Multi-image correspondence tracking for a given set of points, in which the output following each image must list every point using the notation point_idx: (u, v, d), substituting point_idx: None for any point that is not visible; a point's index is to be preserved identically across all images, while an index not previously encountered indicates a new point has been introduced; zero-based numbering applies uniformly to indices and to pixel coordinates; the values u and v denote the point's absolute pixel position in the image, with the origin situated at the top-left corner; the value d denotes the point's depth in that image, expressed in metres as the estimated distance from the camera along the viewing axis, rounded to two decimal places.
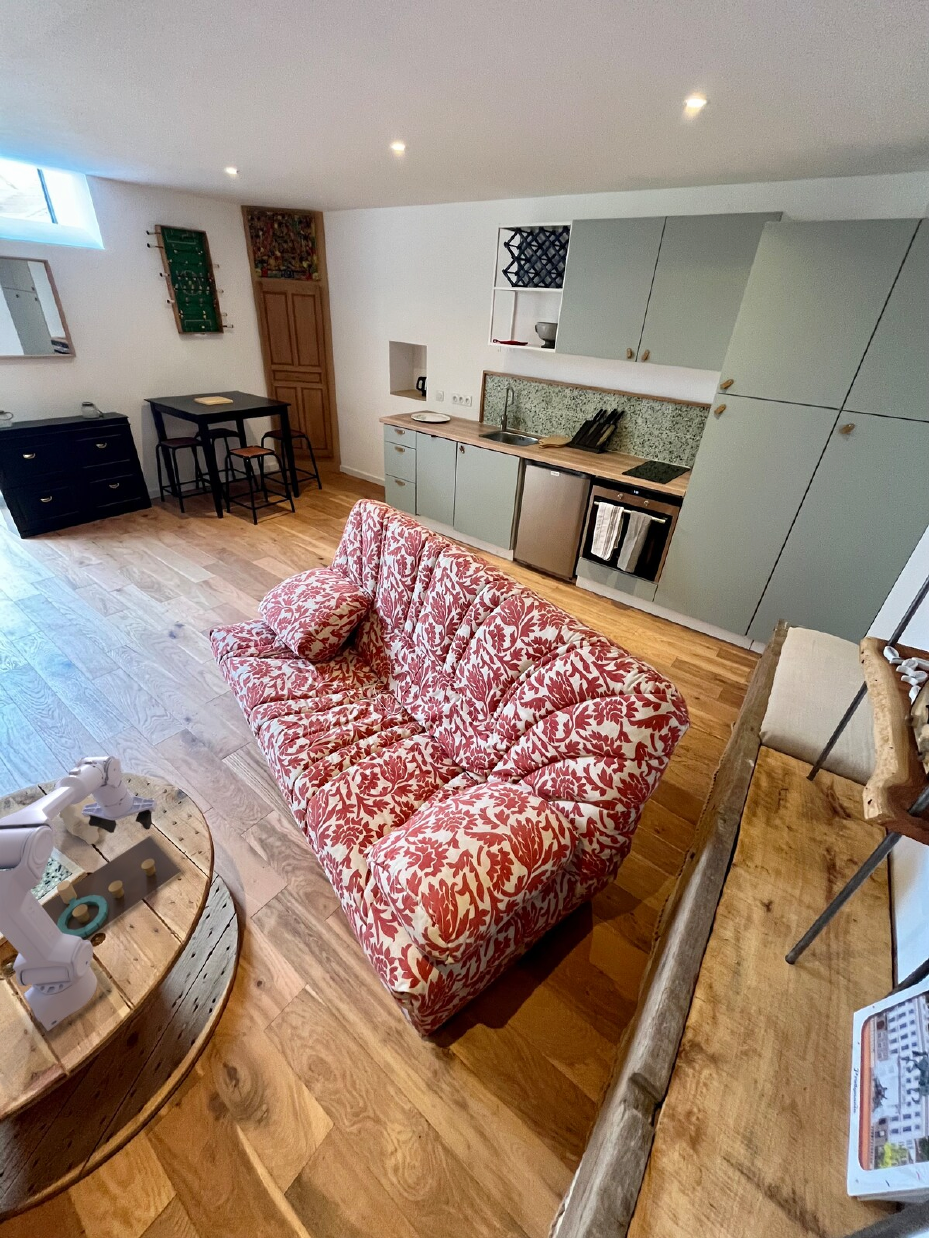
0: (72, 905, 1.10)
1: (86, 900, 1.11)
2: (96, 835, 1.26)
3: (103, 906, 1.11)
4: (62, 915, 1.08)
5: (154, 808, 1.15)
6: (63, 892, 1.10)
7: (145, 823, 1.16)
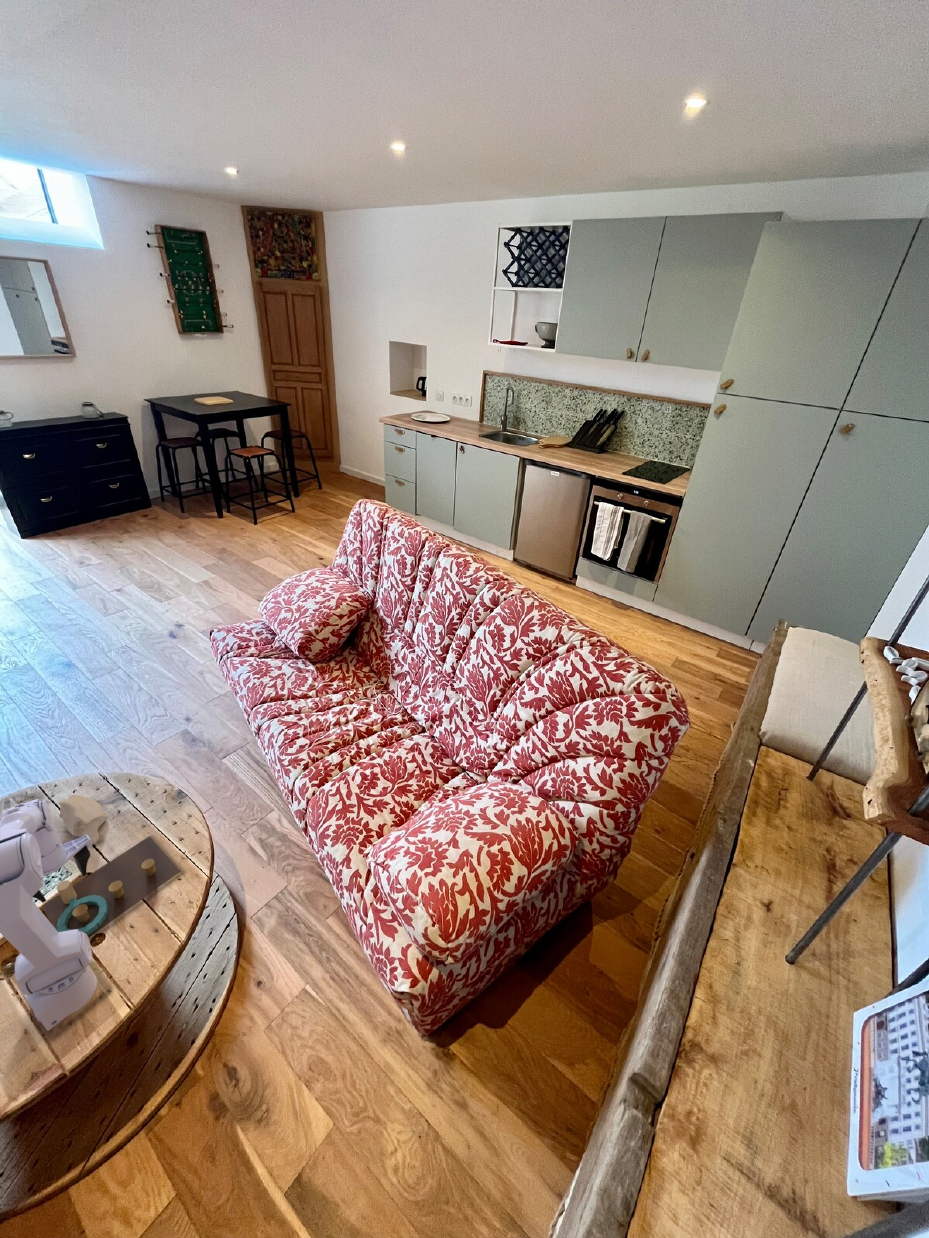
0: (72, 905, 1.10)
1: (86, 900, 1.11)
2: (96, 835, 1.26)
3: (103, 906, 1.11)
4: (62, 915, 1.08)
5: None
6: (63, 892, 1.10)
7: (85, 864, 1.11)
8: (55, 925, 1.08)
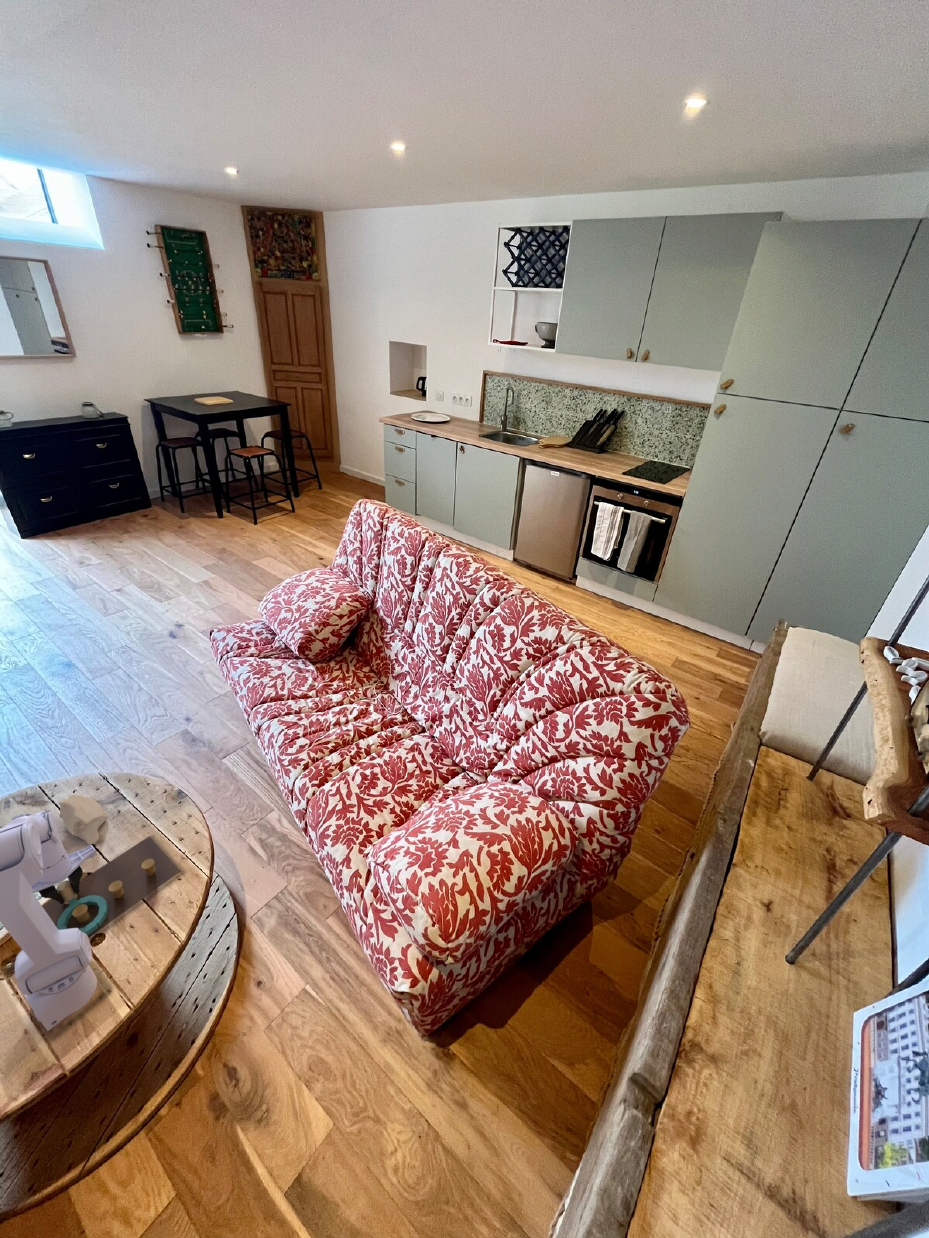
0: (72, 905, 1.10)
1: (86, 900, 1.11)
2: (96, 835, 1.26)
3: (103, 906, 1.11)
4: (62, 915, 1.08)
5: (96, 852, 1.13)
6: (62, 892, 1.10)
7: (78, 882, 1.11)
8: (55, 925, 1.08)
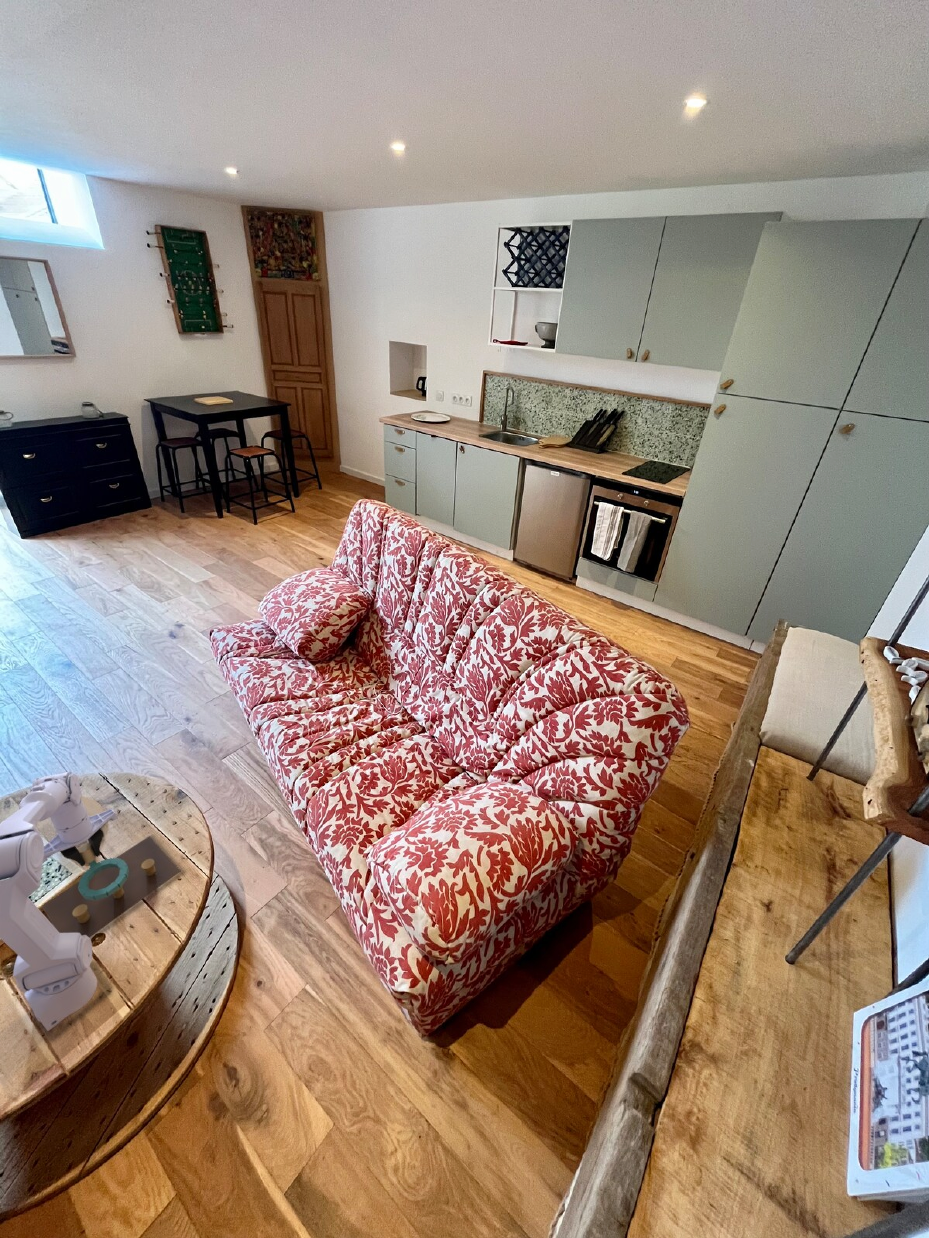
0: (93, 867, 1.11)
1: (106, 863, 1.12)
2: None
3: (123, 868, 1.11)
4: (83, 876, 1.09)
5: (116, 815, 1.14)
6: (83, 854, 1.11)
7: (99, 844, 1.12)
8: (55, 925, 1.08)
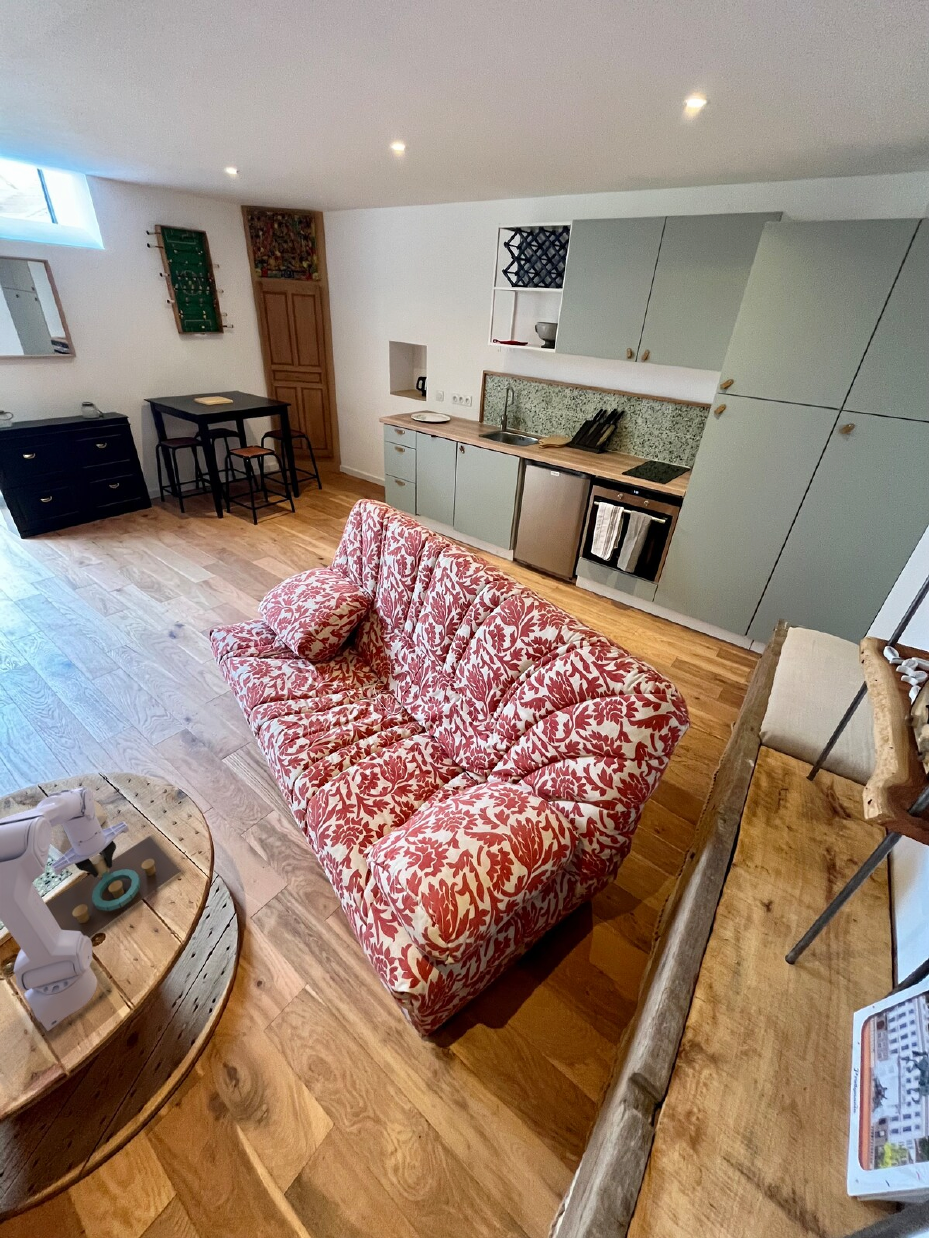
0: (105, 878, 1.15)
1: (119, 874, 1.16)
2: None
3: (135, 879, 1.15)
4: (96, 887, 1.13)
5: (127, 828, 1.18)
6: (96, 866, 1.14)
7: (111, 856, 1.15)
8: None
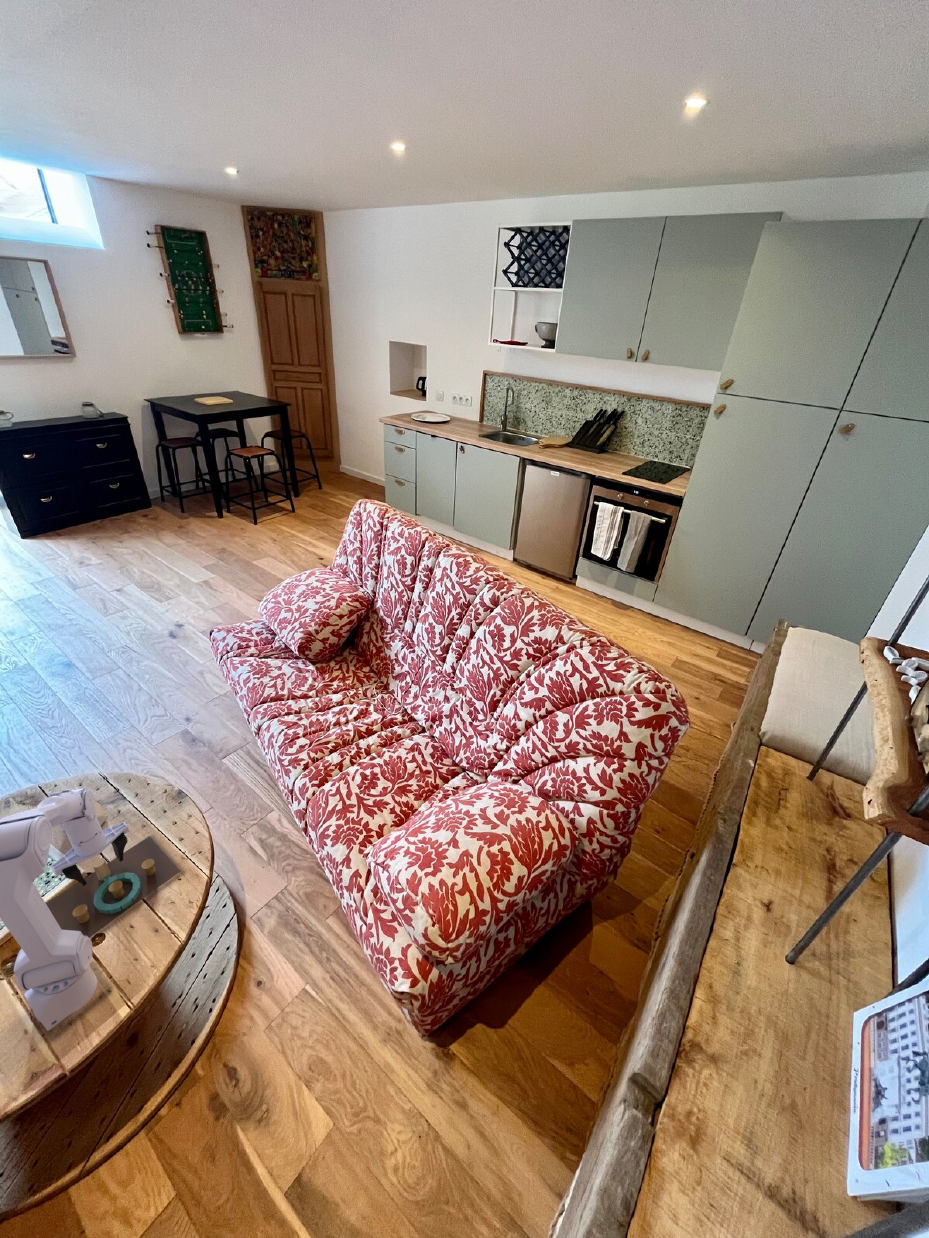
0: (107, 881, 1.15)
1: (120, 877, 1.16)
2: None
3: (136, 882, 1.16)
4: (98, 891, 1.13)
5: None
6: (98, 869, 1.15)
7: (122, 850, 1.17)
8: None
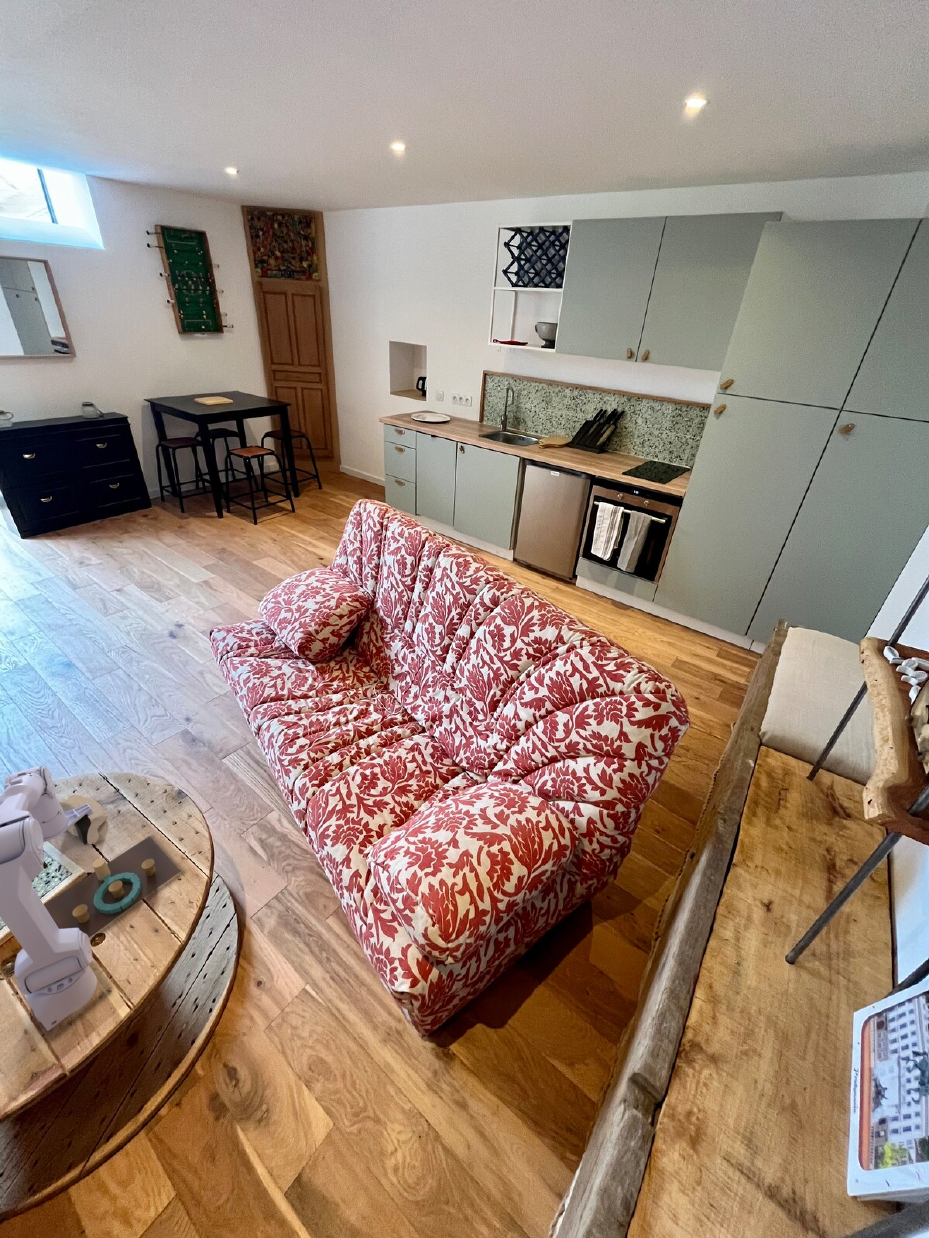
0: (107, 881, 1.15)
1: (120, 877, 1.16)
2: (96, 835, 1.26)
3: (136, 882, 1.16)
4: (98, 891, 1.13)
5: None
6: (98, 869, 1.15)
7: (86, 832, 1.14)
8: None
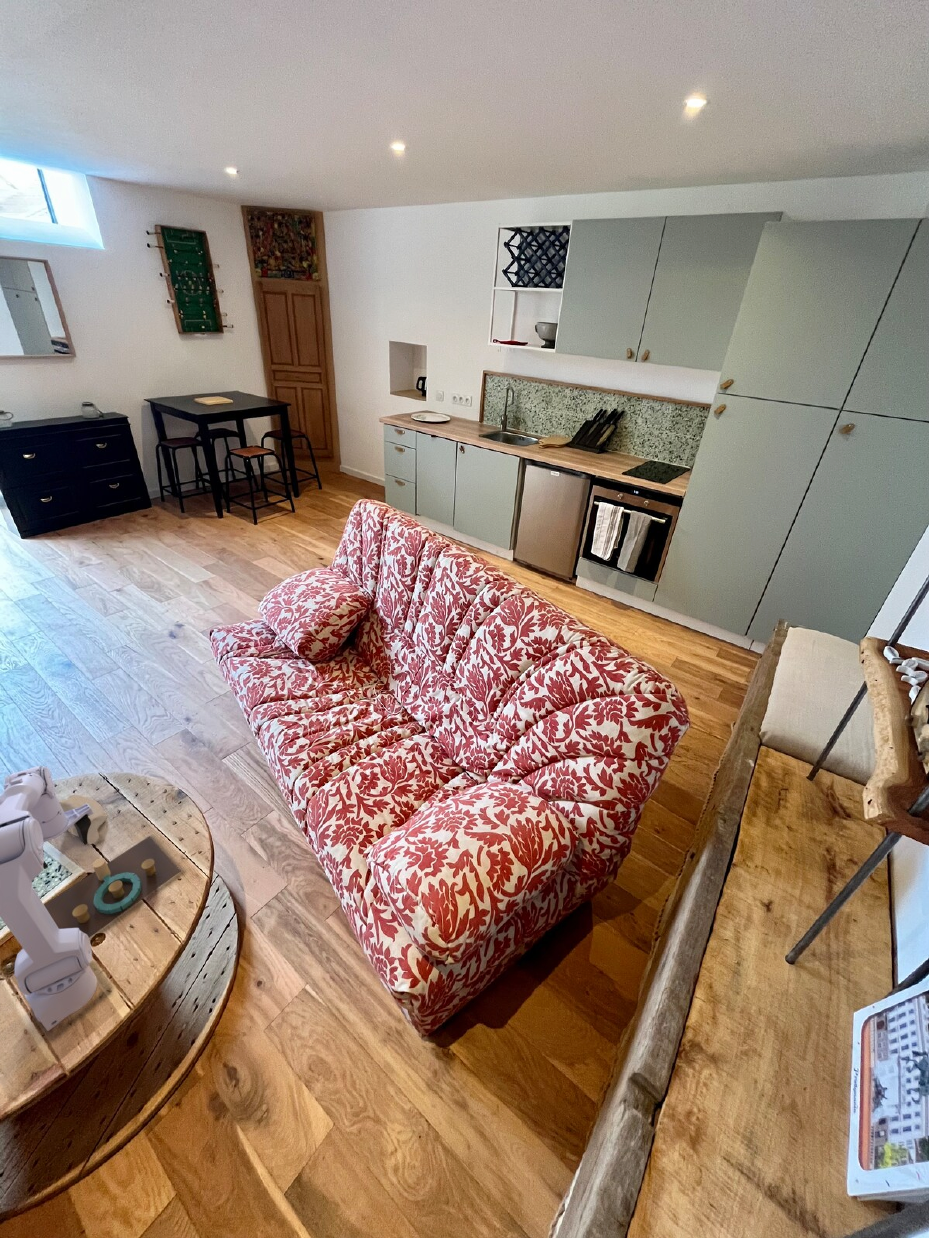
0: (107, 881, 1.15)
1: (120, 877, 1.16)
2: (96, 835, 1.26)
3: (136, 882, 1.16)
4: (98, 891, 1.13)
5: None
6: (98, 869, 1.15)
7: (86, 832, 1.14)
8: None
